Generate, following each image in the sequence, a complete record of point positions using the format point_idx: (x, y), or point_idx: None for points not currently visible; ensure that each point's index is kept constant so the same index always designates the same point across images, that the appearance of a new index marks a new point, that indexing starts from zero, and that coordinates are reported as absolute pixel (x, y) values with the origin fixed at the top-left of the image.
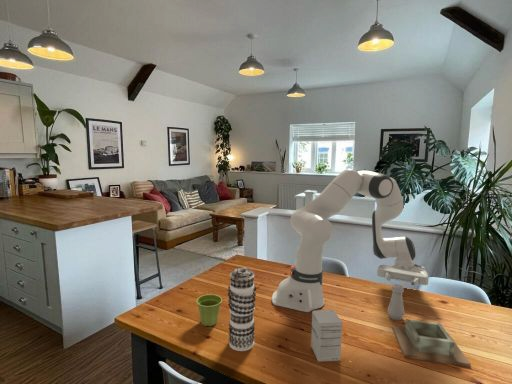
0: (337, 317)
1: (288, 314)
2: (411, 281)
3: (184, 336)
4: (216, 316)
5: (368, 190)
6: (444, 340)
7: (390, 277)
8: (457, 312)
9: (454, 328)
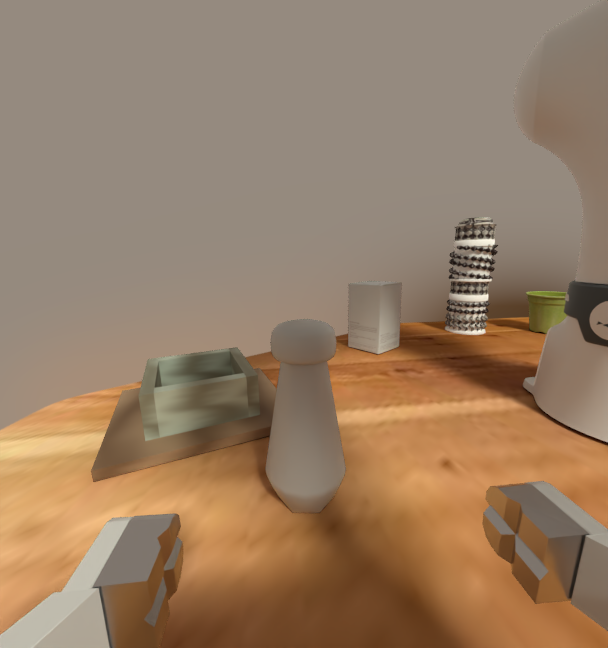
0: (360, 283)
1: (529, 369)
2: (177, 515)
3: (513, 321)
4: (534, 317)
5: None
6: (171, 357)
7: (519, 534)
8: None
9: None
